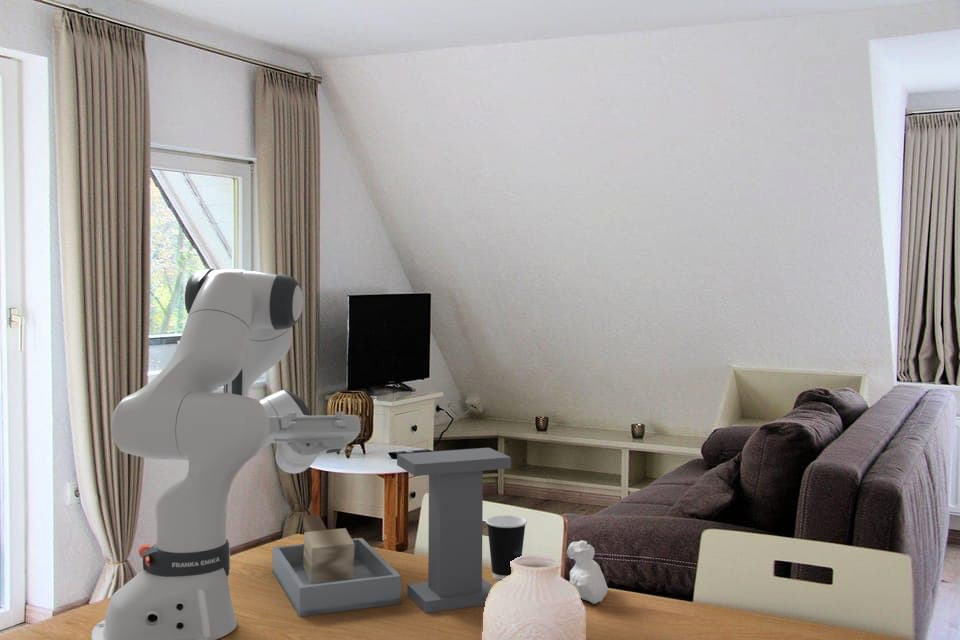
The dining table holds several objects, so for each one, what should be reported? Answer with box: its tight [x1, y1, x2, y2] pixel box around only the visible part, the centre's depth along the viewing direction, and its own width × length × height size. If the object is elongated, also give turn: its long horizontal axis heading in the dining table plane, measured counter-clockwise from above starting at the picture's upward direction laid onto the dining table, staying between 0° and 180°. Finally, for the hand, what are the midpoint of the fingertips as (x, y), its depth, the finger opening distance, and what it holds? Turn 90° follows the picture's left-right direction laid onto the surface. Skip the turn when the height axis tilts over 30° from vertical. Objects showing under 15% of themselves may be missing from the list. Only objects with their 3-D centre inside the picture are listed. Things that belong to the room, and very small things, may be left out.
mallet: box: [303, 513, 355, 583], centre depth 185 cm, size 8×19×7 cm, turn 23°
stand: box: [396, 447, 512, 614], centre depth 170 cm, size 18×10×26 cm, turn 112°
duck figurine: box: [566, 539, 609, 605], centre depth 172 cm, size 12×8×11 cm
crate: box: [272, 537, 402, 618], centre depth 176 cm, size 18×26×5 cm
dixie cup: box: [485, 515, 528, 581], centre depth 183 cm, size 8×8×11 cm
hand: (317, 415), depth 189 cm, fingers open, 8 cm apart
